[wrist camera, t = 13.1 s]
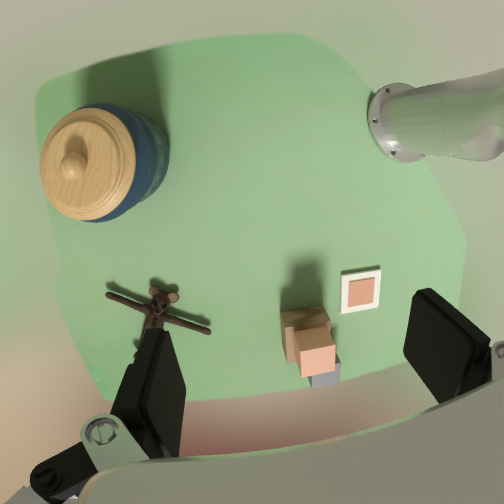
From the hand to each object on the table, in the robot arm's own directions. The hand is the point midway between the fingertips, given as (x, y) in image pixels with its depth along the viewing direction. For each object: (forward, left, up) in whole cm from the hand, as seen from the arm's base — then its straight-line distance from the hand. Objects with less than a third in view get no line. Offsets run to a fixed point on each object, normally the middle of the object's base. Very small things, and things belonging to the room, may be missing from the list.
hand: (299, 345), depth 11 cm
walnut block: (-7, +22, -34) cm, 41 cm away
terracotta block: (-7, +22, -28) cm, 37 cm away
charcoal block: (-10, +30, -33) cm, 46 cm away
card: (-17, +17, -33) cm, 41 cm away
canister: (+16, -8, -34) cm, 38 cm away
